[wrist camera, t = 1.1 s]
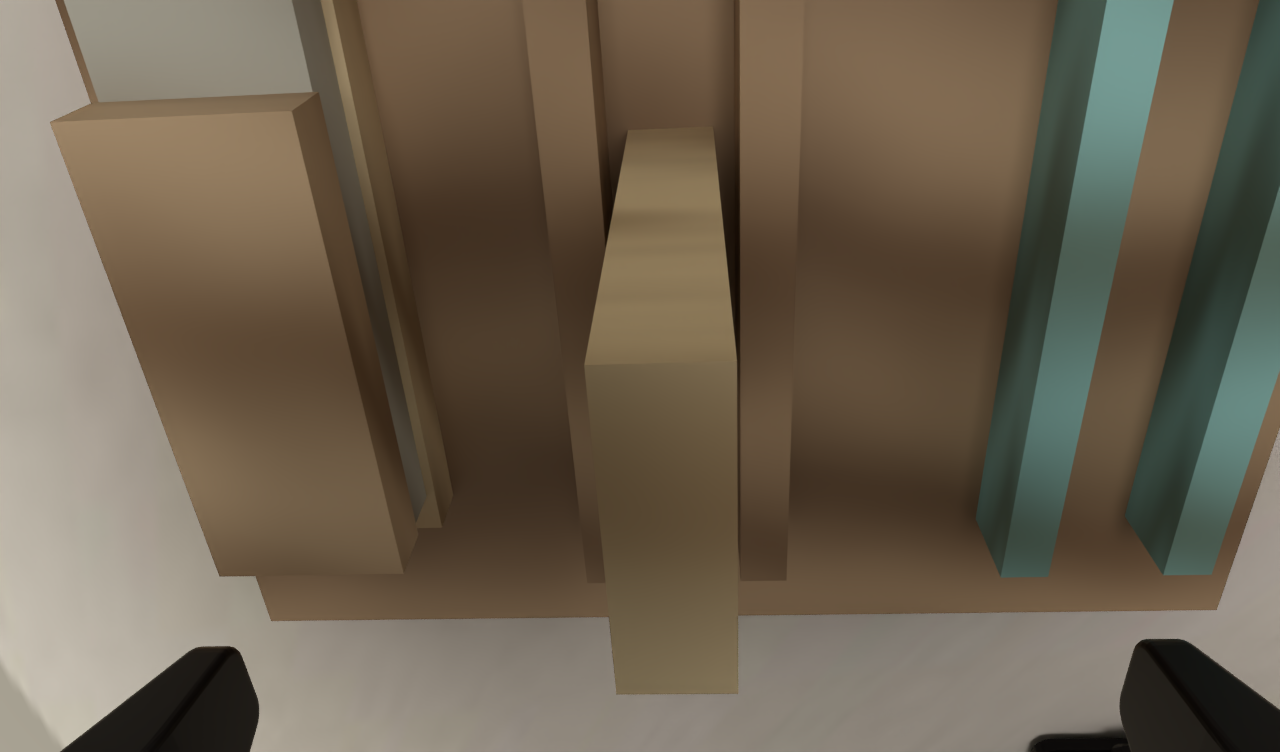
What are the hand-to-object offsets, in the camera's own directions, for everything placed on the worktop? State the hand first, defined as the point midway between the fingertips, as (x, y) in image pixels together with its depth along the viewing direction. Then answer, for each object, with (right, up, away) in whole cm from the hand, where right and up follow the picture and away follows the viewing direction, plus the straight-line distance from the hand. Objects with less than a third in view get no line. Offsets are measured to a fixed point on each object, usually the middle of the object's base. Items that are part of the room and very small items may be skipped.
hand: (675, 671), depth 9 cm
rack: (0, +6, +10) cm, 12 cm away
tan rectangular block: (0, +5, +9) cm, 11 cm away
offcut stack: (-7, +5, +10) cm, 13 cm away
